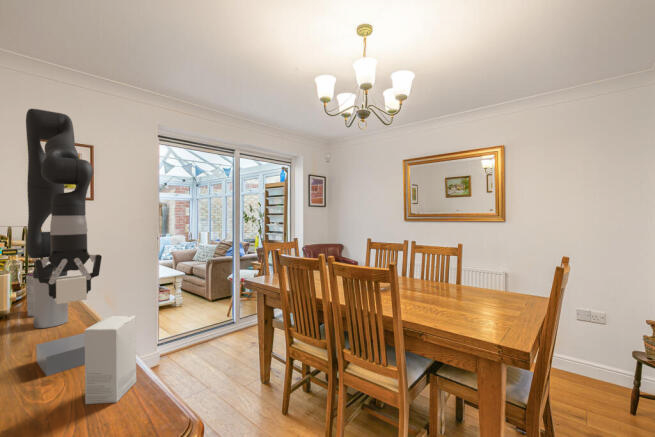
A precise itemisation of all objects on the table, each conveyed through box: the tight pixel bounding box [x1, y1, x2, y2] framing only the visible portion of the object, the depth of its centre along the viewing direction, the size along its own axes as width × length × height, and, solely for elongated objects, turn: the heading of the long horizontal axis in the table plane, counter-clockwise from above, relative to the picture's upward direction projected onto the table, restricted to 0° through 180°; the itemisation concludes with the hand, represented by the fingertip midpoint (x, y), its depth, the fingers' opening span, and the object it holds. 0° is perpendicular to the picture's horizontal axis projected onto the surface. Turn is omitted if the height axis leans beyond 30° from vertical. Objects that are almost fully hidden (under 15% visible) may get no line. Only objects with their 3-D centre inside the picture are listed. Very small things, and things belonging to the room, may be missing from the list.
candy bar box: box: [25, 273, 34, 318], centre depth 125 cm, size 11×5×16 cm, turn 168°
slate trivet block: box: [36, 332, 85, 377], centre depth 83 cm, size 12×12×5 cm
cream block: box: [55, 273, 88, 304], centre depth 83 cm, size 6×6×6 cm
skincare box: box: [83, 315, 137, 405], centre depth 67 cm, size 8×7×16 cm
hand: (70, 295), depth 83 cm, fingers closed on cream block, 6 cm apart
